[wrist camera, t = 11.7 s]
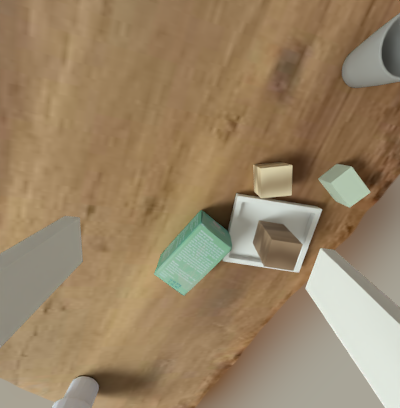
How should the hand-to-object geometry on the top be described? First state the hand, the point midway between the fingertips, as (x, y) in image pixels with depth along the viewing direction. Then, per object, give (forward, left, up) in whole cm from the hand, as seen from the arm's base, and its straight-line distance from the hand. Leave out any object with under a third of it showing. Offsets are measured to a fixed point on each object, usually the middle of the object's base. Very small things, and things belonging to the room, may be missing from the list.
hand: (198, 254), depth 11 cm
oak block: (-1, +12, -28) cm, 30 cm away
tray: (+10, +15, -28) cm, 33 cm away
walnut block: (+10, +15, -27) cm, 32 cm away
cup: (-20, +23, -28) cm, 42 cm away
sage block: (-2, +25, -28) cm, 38 cm away
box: (+14, +1, -28) cm, 31 cm away
